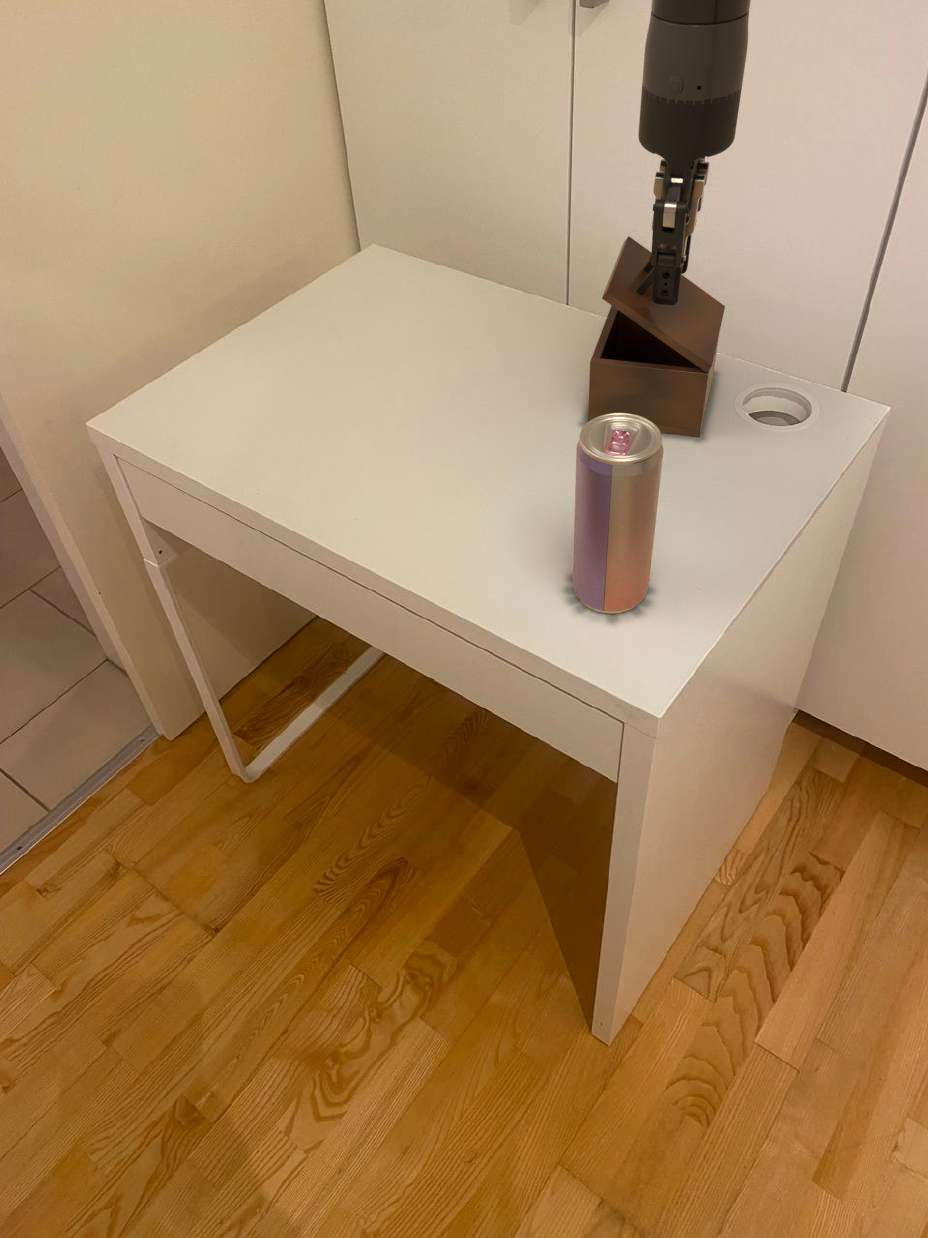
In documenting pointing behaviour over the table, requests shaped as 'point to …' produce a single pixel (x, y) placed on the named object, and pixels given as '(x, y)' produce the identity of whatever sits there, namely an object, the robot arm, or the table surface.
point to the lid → (665, 306)
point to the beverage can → (615, 510)
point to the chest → (646, 379)
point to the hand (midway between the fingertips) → (670, 285)
